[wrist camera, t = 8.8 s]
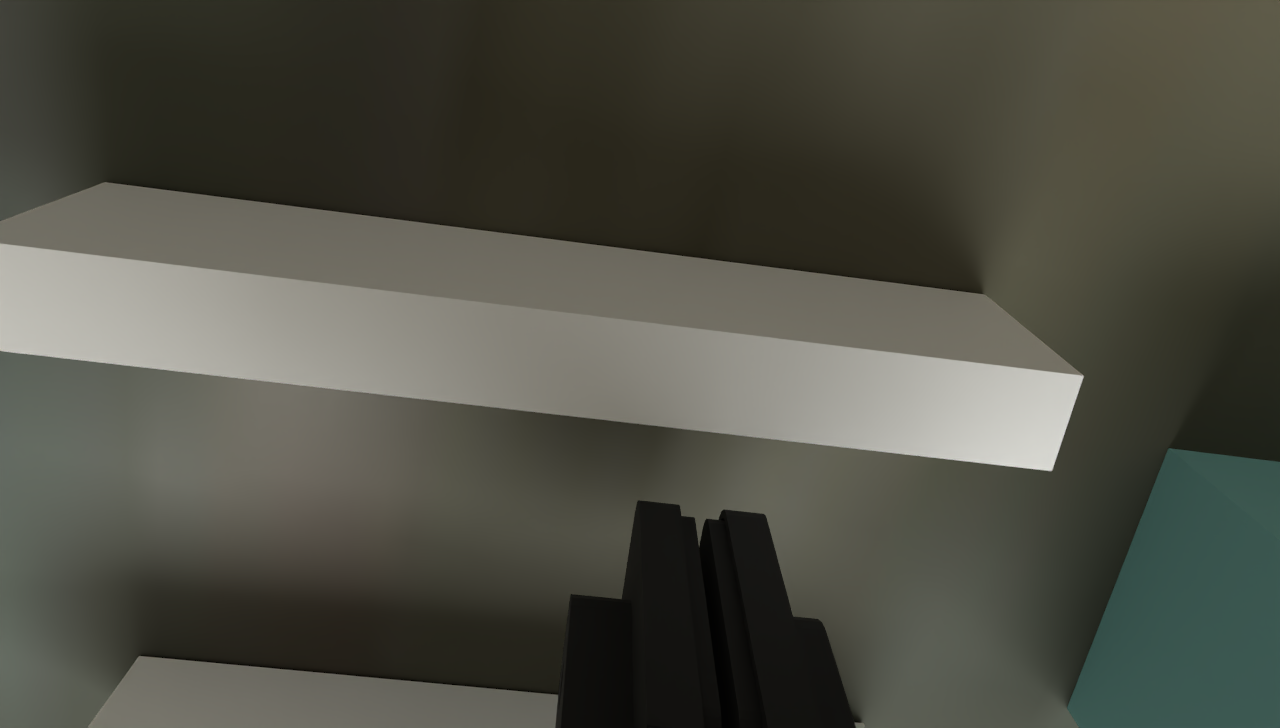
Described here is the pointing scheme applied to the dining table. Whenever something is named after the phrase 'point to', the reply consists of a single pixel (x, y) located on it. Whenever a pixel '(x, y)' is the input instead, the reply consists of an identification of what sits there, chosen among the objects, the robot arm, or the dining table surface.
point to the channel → (502, 369)
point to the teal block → (1193, 605)
